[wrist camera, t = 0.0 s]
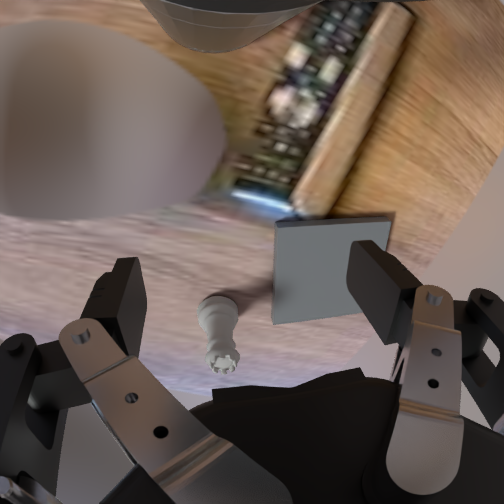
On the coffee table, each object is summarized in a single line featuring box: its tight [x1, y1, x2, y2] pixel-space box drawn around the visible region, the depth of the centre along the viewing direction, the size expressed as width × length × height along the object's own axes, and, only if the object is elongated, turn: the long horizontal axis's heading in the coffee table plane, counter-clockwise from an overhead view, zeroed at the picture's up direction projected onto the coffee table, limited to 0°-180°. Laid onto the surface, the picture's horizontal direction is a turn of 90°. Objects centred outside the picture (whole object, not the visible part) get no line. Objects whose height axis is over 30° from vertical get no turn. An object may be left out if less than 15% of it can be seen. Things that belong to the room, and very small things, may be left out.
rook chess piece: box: [197, 296, 240, 374], centre depth 32 cm, size 4×4×8 cm
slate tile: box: [271, 217, 391, 325], centre depth 34 cm, size 12×12×1 cm
